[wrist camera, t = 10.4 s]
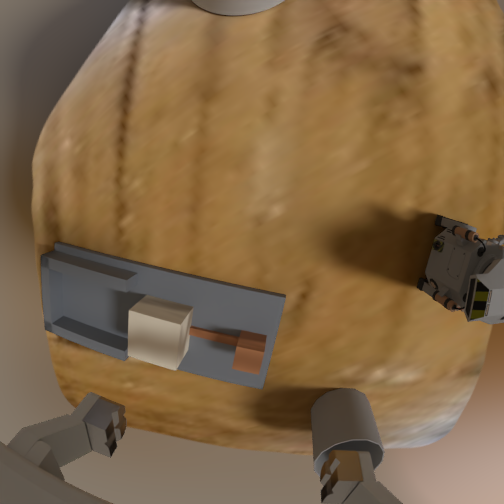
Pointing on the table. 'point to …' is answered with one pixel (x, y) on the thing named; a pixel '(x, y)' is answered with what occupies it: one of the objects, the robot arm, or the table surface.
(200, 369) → the grey slider tray
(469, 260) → the figurine
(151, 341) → the block
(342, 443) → the cup
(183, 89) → the table surface
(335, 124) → the table surface
